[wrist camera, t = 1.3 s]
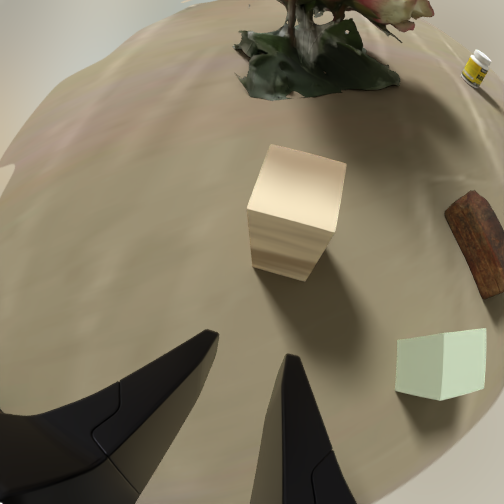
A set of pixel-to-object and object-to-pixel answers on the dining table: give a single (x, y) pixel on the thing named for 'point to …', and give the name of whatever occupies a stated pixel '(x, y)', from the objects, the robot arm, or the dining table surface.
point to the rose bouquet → (323, 48)
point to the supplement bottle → (476, 69)
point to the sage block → (442, 364)
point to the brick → (479, 241)
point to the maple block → (293, 211)
